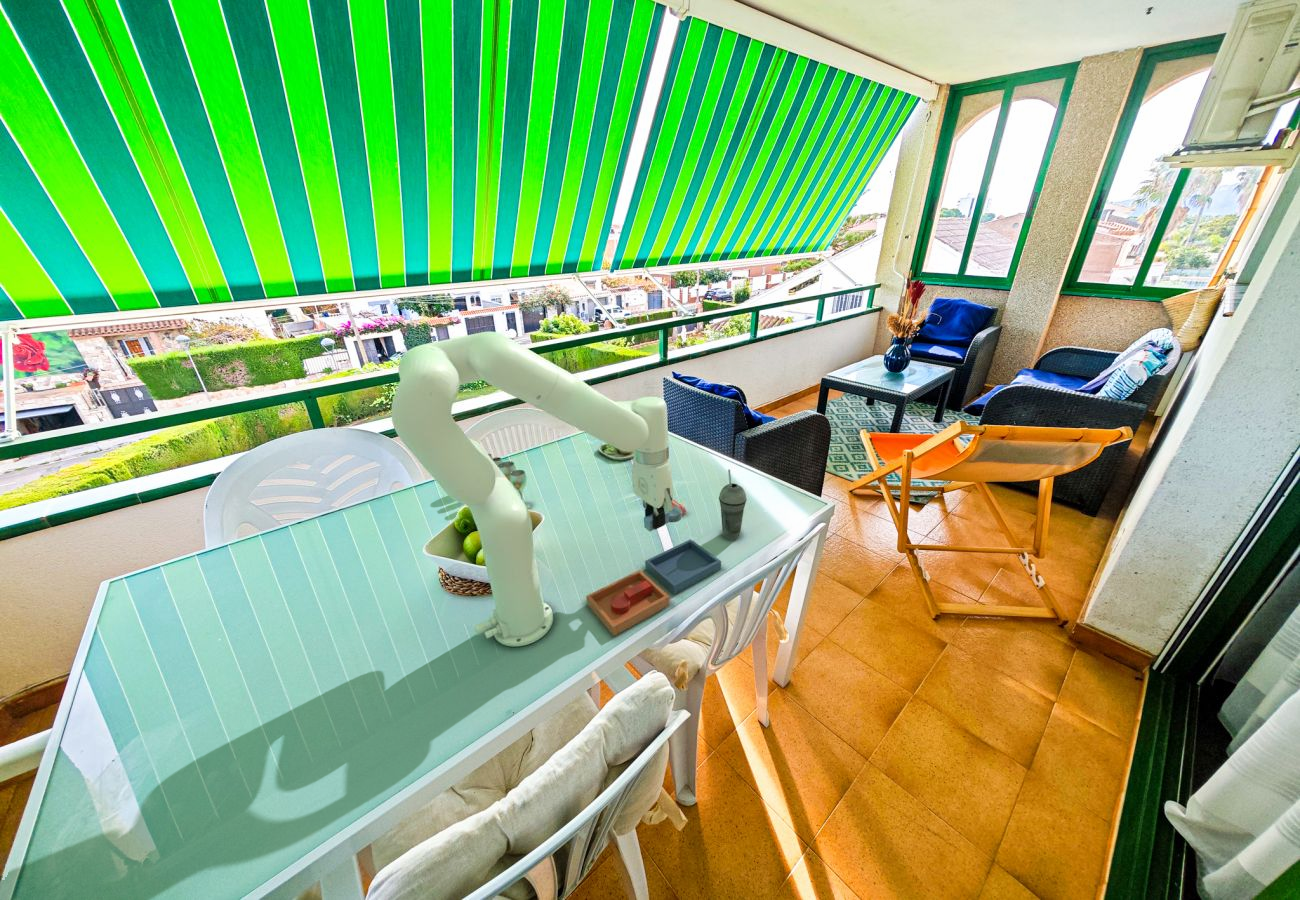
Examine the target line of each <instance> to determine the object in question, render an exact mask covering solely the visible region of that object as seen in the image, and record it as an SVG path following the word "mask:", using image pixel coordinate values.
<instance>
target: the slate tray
mask: <svg viewBox="0 0 1300 900" xmlns="http://www.w3.org/2000/svg"><path fill="white" fill-rule="evenodd" d="M644 564H645V565H644V566H645V567H644V568H645V570H646V571H647V572H648V573H649V574H651V575H652V576H653V577H654V578H655V579H656V581H658V582H660V583H661V584H662V585H663V586H664V587H665V588H666V589H667V590H669V591H670V593H672V594H673V595H676V594H678V593H680V592H682V591H684V590H685V589H687V588H689V587H691V586H693V585H695V584H696V583H698V582H700V581H702V580H704V579H705V578H707V577H709V576H711V575H713V574H715V573H716V572H719V571H720V570H722V560H720V559H719V558H718V557H716V556H715V555H714V554H712V553H711V552H709V551H708V550H707V549H705V548H704V547H702V546H701V545H700V544H698V543H697V542H695V541H694V540H692V539H688V540H685V541H684V542H681V543H679V544H677V545H674V546H673V547H671V548H668V549H667V550H665V551H663V552H661V553H658V554H656V555H654V556H652V557H650V558H648V559H646V560H644Z"/></svg>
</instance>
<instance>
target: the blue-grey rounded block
mask: <svg viewBox="0 0 1300 900" xmlns="http://www.w3.org/2000/svg"><path fill="white" fill-rule="evenodd" d="M653 514H654V513H653ZM682 518H683V515H682V511H681V509H680V508H679V507H675V506H673V510H672V511H670V512H665V525H666V524H668V523H677V522H680V521H681V520H682ZM643 525H644V528H645V529H646V530H647V531H648V532H652V531H654V530H655V529H654V528H653V517H652V514H651V515H649V516H646V517H645V516H644V517H643Z"/></svg>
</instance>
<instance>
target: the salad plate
mask: <svg viewBox="0 0 1300 900" xmlns="http://www.w3.org/2000/svg"><path fill="white" fill-rule="evenodd" d="M597 451H598V452H599V454H600V455H602V456H605V457H606V458H609V459H612V460H614V461H628V460H632V459H634V456H635V455H634V451H631V452H627V451H622V450H620V449H617V448H615V447H613V446H611V445H609V444H607V443H605V442H604V443H602V444H600V445H598V448H597Z"/></svg>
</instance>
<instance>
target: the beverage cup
mask: <svg viewBox="0 0 1300 900" xmlns="http://www.w3.org/2000/svg"><path fill="white" fill-rule="evenodd" d="M727 475H728V482H729V483H728V484H725V485H724V486H723V487H722V488H721V490H720V492H719V496H718V501H719V506H720V517H721V530H722V536H723V538H725V539H727V540H732V541H733V540H738V539H739V538H740V535H741V532H742V524H743V518H744V510H745V506H746V504H747V500H748V498H747V495H746V491H745V489H744V488H743V487H742V486H741V485H740V484H737V483H732V474H731V469H729V468H728V469H727Z"/></svg>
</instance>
